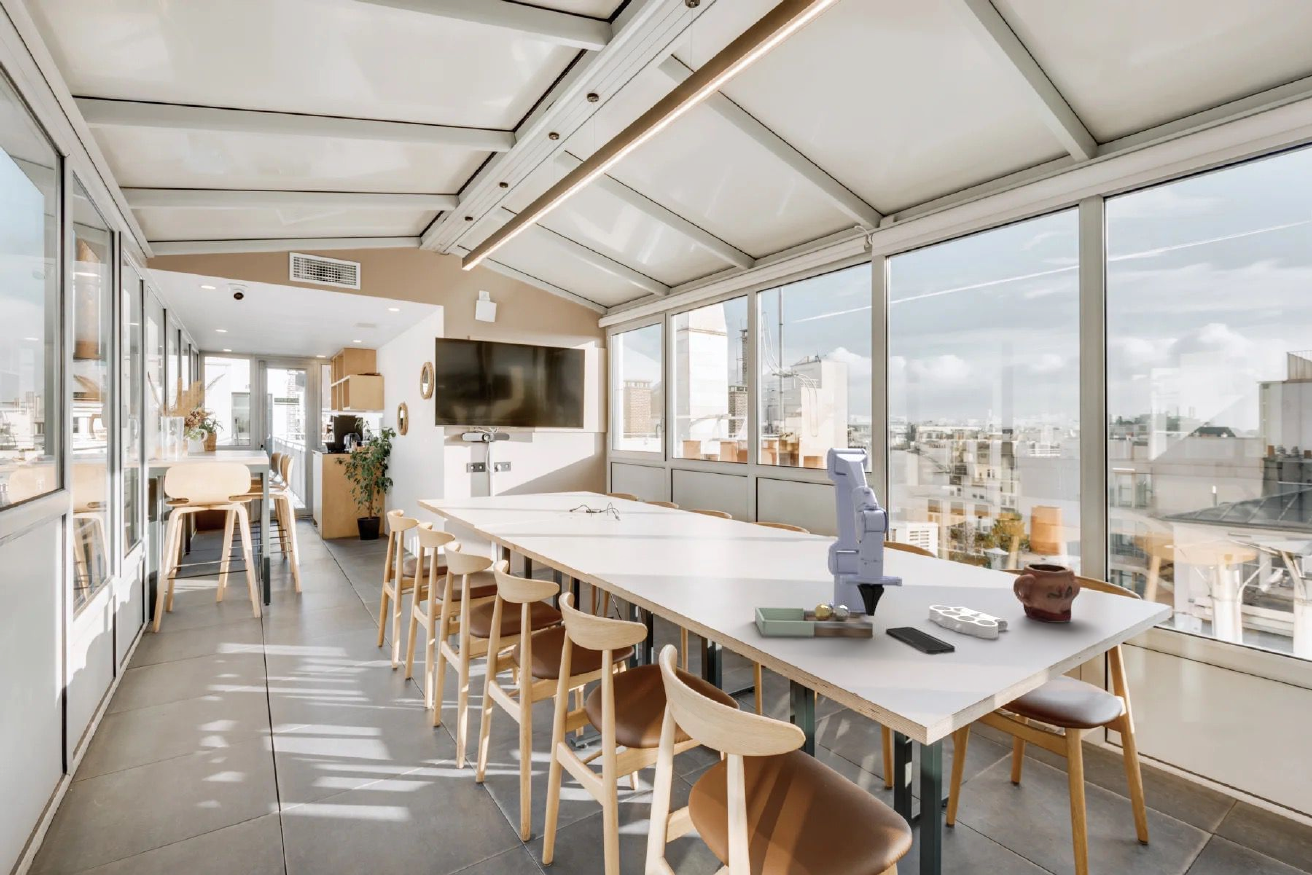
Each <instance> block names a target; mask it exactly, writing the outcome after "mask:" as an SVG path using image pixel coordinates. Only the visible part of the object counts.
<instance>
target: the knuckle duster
mask: <svg viewBox="0 0 1312 875" xmlns="http://www.w3.org/2000/svg"><path fill="white" fill-rule="evenodd" d="M928 619H929V621H932V622H936V623H938V625H939V626H940V627H943V628H948V629H950V630H952V631H955V632H958V633H962V634H967V635H972V636H975V637H978V638H983V639H989V640H990V639H997V638H998V637H999V632H1002V631H1005V630H1006V629H1007V628H1008V622H1007V620H1005V619H1003V618H1000V617H995V616H992V615H989V614H987V613H984V612H979V611H976V610H972V609H969V608H967V607H965V606H957V607H954V606H953V607H952V606H945V605H937V604H935V605H931V606H929V607H928Z"/></svg>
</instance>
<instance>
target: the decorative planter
mask: <svg viewBox="0 0 1312 875" xmlns="http://www.w3.org/2000/svg"><path fill="white" fill-rule="evenodd" d="M1012 588H1013V590H1012V591H1013V593H1014V595H1015V596H1016V598H1017V599H1018V601H1020V602H1021V604H1022V605H1023V611H1024V613H1025V615H1026V616H1027V617H1029V618H1031V619H1034V620H1037V621H1042V622H1048V623H1065V622H1069V621H1071V620H1072V604H1073V602H1074V600H1075V599H1076V598H1077V597H1078V596H1079V594H1080V592H1081V584H1080V583H1079V581H1078V580H1077V578H1076V575H1075V573H1074V571H1073V569H1071V568H1069V567H1067V566H1064V565H1056V564H1048V563H1041V564H1040V563H1037V564H1036V563H1035V564H1034V563H1032V564H1026V565H1025V566H1024V567H1023V570H1022V572H1021V574H1020V575H1019V576H1018V577H1016V578H1015V579H1014V582H1013V585H1012Z"/></svg>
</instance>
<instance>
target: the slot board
mask: <svg viewBox="0 0 1312 875" xmlns="http://www.w3.org/2000/svg"><path fill="white" fill-rule="evenodd" d="M814 610H815V609H813V610H812V609H803V621H813V622H814V637H839V638H840V637H842V638H843V637H846V638H847V637H851V638H853V637H854V638H873V635H874V634H873V632H874V630H873V625H874V624H873V623H872V622H871V621H868V622H866V621H865V620H864V619H863V618H862V617H861V613H860V611H849V612H850V616H849V618H848V620H846V621H845V622H839V621H837V620H836V619H835V618H834V617H833V610H831V617H830V619H829V620H827V621H819V620H818V619H817V618H816V617H815V615H814Z"/></svg>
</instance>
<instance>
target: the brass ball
mask: <svg viewBox="0 0 1312 875" xmlns="http://www.w3.org/2000/svg"><path fill="white" fill-rule="evenodd" d="M813 610H814V615H815V617H816V618H817V619H818V620H819V621H827V620H829V619H830V617H831V611H832V610H831V609H830V607H829V606H827V605H825V604H819V605H817V606H815V608H814V609H813Z"/></svg>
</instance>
